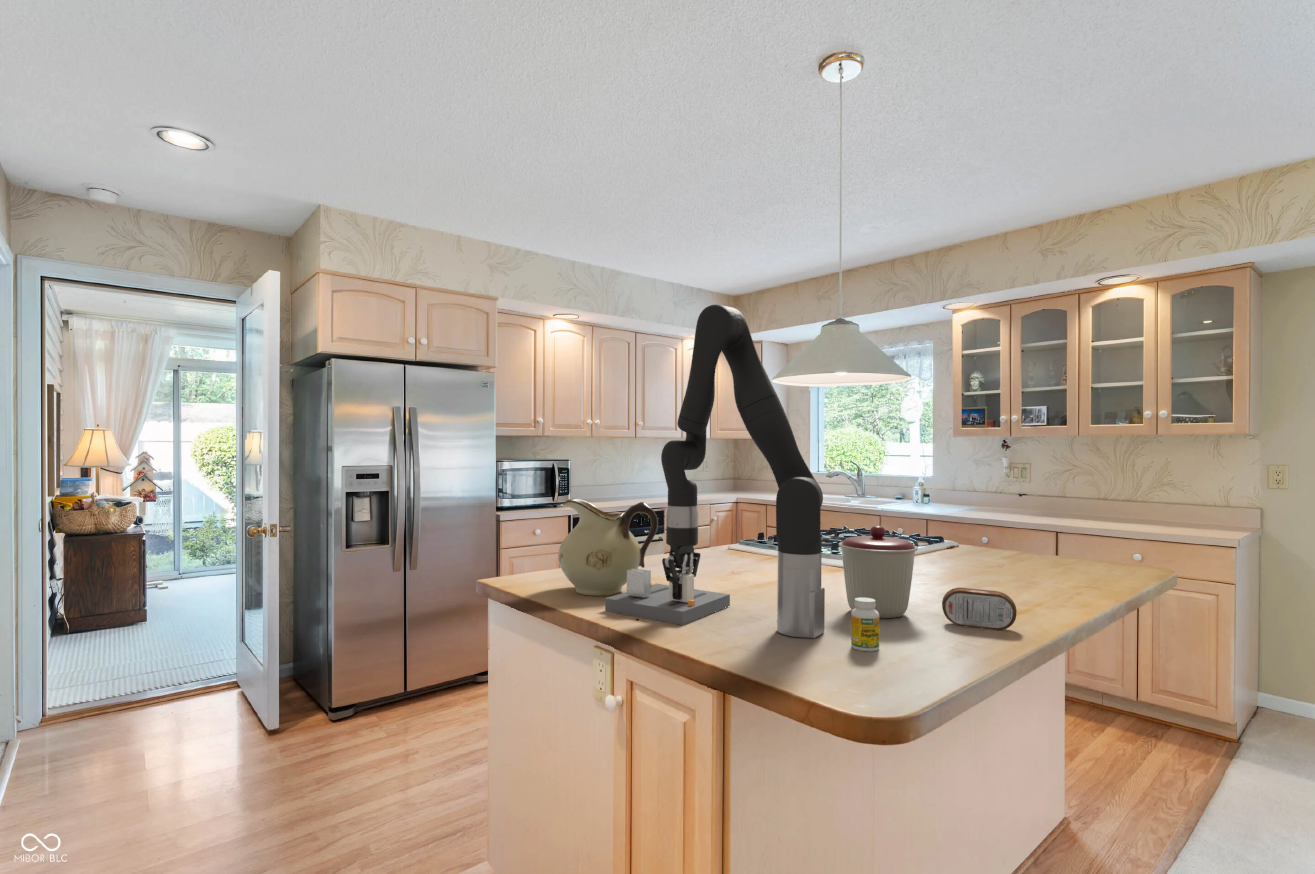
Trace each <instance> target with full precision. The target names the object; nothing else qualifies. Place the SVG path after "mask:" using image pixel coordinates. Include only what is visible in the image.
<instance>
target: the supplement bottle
mask: <svg viewBox="0 0 1315 874" xmlns="http://www.w3.org/2000/svg"><path fill="white" fill-rule="evenodd" d="M854 605H855V606H856V608H855V609H853V610H851V612H850V619H851V620H850V630H851V631H850V635H851V636H850V637H851V638H850V645H851V647H852V649H854V650H856V651H858V652H859V651H860V652H870V653H871V652H876V651H878V650H879V649H880V618H879V613H878V611H876V610H875V609H874V608H875V606H876V601H875V600H874V599H871V598H855V603H854Z"/></svg>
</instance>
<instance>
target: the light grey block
mask: <svg viewBox="0 0 1315 874" xmlns="http://www.w3.org/2000/svg"><path fill="white" fill-rule="evenodd" d="M651 578H652V570H648V569H643V568H641V569H640V568H638V569H635V568H634V569H630V570H627V583H626V592H627V595H630V596H636V597H642V598H644V597H647V596H651V583H652V579H651Z"/></svg>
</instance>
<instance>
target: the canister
mask: <svg viewBox="0 0 1315 874" xmlns="http://www.w3.org/2000/svg"><path fill="white" fill-rule="evenodd" d="M869 532H870V533H869V534H870V535H860V536H858V535H857V536H850V537H846V538H845V539H844V540H843V541H840V542H839V543H838V545H839V547H840V548H841V556H842V557H841V558H842V565H843V566H842V567H843V576H844V583H845V593H846V600H847V604H848V606H849V609H850V610H851V611H852V610H853V609H855V608H856V606H855V605H854V603H855V598H871V599H874V600H875V601H876V606H875V608H874V609H875V610H876V611H878V613H879V619H895V618H900V617H901V616H903V615H905V614H906V612H907V609H908V607H909V601H910V597H911V596H910V595H911V588H912V580H913V572H914V564H915V563H914V562H915V555H916V554H915V553H916V552H917V551H918V549H919V547H918V546H916V545H914V544H913V543H912V542H911V541H909V540H907V539H903V538H897V537H891V536H885V535H886V529H885V528H884V526H881V525H874V526H872V527H871V528H870V529H869Z"/></svg>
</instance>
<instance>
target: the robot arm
mask: <svg viewBox="0 0 1315 874" xmlns="http://www.w3.org/2000/svg"><path fill="white" fill-rule="evenodd" d="M696 320H697V321H696V326H695V334H694V341H693V347H692V350H693V351H692V355H691V356H692V357H691V361H690V362H691V363H690V369H689V375H688V381H687V384H686V385H687V386H686V390H685V393H684V397H683V401H682V405H681V407H680V410H679V415H678V418H677V423H676V424H677V427H678V428H679V430H681V431H682V432H684V433H685V439H684V440H675V439H674V440H669V441H668V442H666V443H665V444H664V446H663V448H662V450H661V455H660V456H661V466H662V471H663V473H664V479H665V483H666V486H667V509H666V523H665V524H666V525H665V526H666V529H665V530H666V532H665V534H666V536H665V541H666V542H665V543H666V544H667V545H668V546H669V547H670V549H669V553H668V556H667V557H666V558H664V557H663V558H662V560H661V563H662V567H663V571H664V575H665V579H666V581H667V582H669V581H670V582H671V583H672V592H673V593H672V596H673V599H676V600H681V599H682V584H681V583H682V578H683V574H684V573H685V574H693V575H694V578H696V577H697V573H698V569H699V568H698V567H699V564H700V560H701V553H700V552H696V551H695V548H694V547H695V546H697V545H698V543H699V512H698V510H699V509H698V486H697V483H696V482H695V481H693V480H690V479H688V477H687V475H686V471H694V470H697V469H698V468H700V467H701V466H702V464H703V462H704V460H705V457H706V455H707V454H706V453H707V428H708V424H709V422H710V418H711V414H712V412H713V407H714V403H715V395H716V394H715V392H716V387H715V386H716V384H715V383H716V381H715V380H716V369H717V363H718V360H719V358H720V355H721V353H722V354H723V355H724V358H725V359H726V362H727V363H728V366H729V369H730V372H731V376H732V379H733V382H732V383H733V395H734V401H735V405H736V408H737V410H738V413H739V415H740V418H741V420H742V422H743V424H744V426H745V429H746V430H747V433H748V434H749V436H750V438H751V439H752V441H753V442H754V444H755V445H756V447H757V448H758V450H759V451H760V453H761V454H762V455H763V457H764V458H765V460H766V461H767V463H768V466H769V467H770V469H771V472H772V474H773V477H774V479H775V482H776V485H777V488H778V490H777V492H776V493H777V494H776V500H775V533H776V535H775V536H776V540H777V591H776V592H777V594H776V595H777V599H776V600H777V603H776V605H777V607H776V612H777V614H776V617H777V619H776V625H777V626H776V628H777V629H776V631H777V632H778V633H780V634H782V635H783V636H789V637H793V638H811V639H815V638H817V637H819V636H820V635H822V634H824V633H825V612H826V610H825V604H826V603H825V600H826V598H825V597H826V596H825V593H826V592H825V591H826V590H825V587H822V558H823V556H822V549H823V548H822V547H823V546H822V545H823V544H822V533H821V510H822V509H821V508H822V505H823V501H824V495H823V492H822V489H821V487H820V485H819V483H818V481H817V480H816V478H815V477H814V475H813V474H812V471H811V470H810V468H809V467H808V465H807V463H806V461H805V460H804V458H803V455H802V453H801V451H800V449H799V446H798V444H797V441H796V439H795V434H794V432H793V430H792V427H791V425H790V422H789V419H788V416H787V413H786V412H785V409H784V407H783V405H782V402H781V400H780V398H779V396H778V394H777V391H776V390H775V388H774V386H773V384H772V382H771V380H770V378H769V375H768V374H767V371H766V369H765V367H764V364H763V363H762V361H761V359H760V356H759V355H758V353H757V350H756V347H755V344H754V341H753V337H752V334H751V331H750V328H749V325H748V321H747V320H746V317H745V316H744V315H743V313H742V312H741V311H739V310H738V309H737V308H735V307H732V306H729V305H728V306H727V305H722V304H711V305H708V306H706V307H704V309H702V310H701V312H700V313H699V316H698V318H697V319H696ZM677 573H678V577H677ZM670 574H671V576H670Z"/></svg>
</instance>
